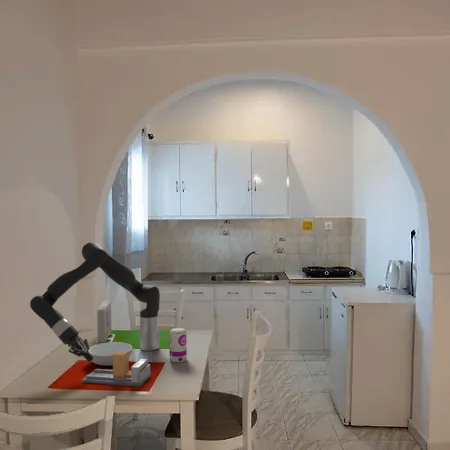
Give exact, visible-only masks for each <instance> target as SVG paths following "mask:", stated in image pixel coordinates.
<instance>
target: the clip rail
mask: <svg viewBox="0 0 450 450" xmlns="http://www.w3.org/2000/svg"><path fill="white" fill-rule="evenodd" d="M148 362H149V360H148V359H147V358H140V359H139V360H138V361H137V362H135V363H134V364H133V365H132V366H131V367H130V371H131V378H123V377H113V369H102V368H95V369H94V370H93V371H91V372H90V373H89V374H86V375H85V376H84V377H83V378H82V380H81V382H82V383H86V384H87V383H89V384H99V385H100V384H102V385H115V386H127V387H128V386H129V387H141V386H142V385H143V384H145V382H146V381H147V380H148V379H149V378H150V377H151V364H150V363H148Z"/></svg>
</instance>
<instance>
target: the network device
mask: <svg viewBox="0 0 450 450" xmlns="http://www.w3.org/2000/svg"><path fill="white" fill-rule="evenodd" d="M96 311H97V313H96V315H97V316H96V317H97V318H96V319H97V322H96V323H97V324H96V325H97V339H96V341H95V344H94V345H98V344H102V343H107V341H108V343H110V342H114V338H115V337H116V334H114V333H111V332H112V326H113V325H112V300H103V302H102V303H101V304H100V305H99V307H98V308H97V309H96ZM109 335H112V336H111V337H110V336H109Z"/></svg>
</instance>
